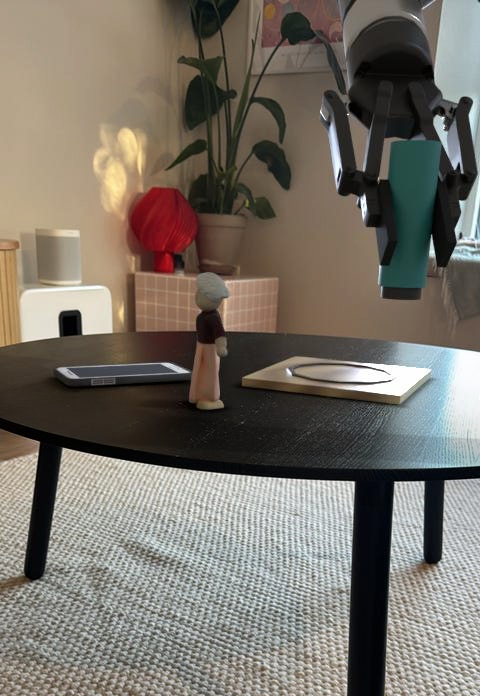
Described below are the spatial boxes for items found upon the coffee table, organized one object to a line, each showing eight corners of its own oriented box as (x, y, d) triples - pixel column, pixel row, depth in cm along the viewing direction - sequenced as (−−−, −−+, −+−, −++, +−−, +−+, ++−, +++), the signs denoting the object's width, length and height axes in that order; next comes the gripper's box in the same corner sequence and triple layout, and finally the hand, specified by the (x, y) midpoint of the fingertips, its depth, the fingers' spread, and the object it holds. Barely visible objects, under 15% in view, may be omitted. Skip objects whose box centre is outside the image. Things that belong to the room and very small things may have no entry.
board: (430, 377, 94) (431, 368, 94) (399, 404, 78) (401, 393, 78) (294, 363, 100) (295, 354, 100) (241, 386, 85) (241, 375, 85)
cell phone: (196, 381, 86) (196, 372, 86) (68, 388, 80) (67, 379, 79) (171, 369, 92) (171, 361, 92) (51, 375, 86) (51, 366, 86)
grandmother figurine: (173, 399, 77) (173, 269, 73) (206, 396, 79) (208, 269, 74) (208, 415, 71) (211, 275, 67) (243, 412, 73) (248, 275, 68)
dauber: (428, 298, 65) (445, 145, 61) (419, 301, 62) (437, 139, 58) (382, 295, 67) (396, 145, 63) (371, 298, 63) (385, 140, 59)
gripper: (464, 98, 73) (504, 289, 64) (289, 91, 72) (304, 284, 62) (492, 20, 66) (542, 221, 57) (300, 11, 65) (319, 214, 56)
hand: (417, 253), depth 60 cm, fingers closed on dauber, 4 cm apart
